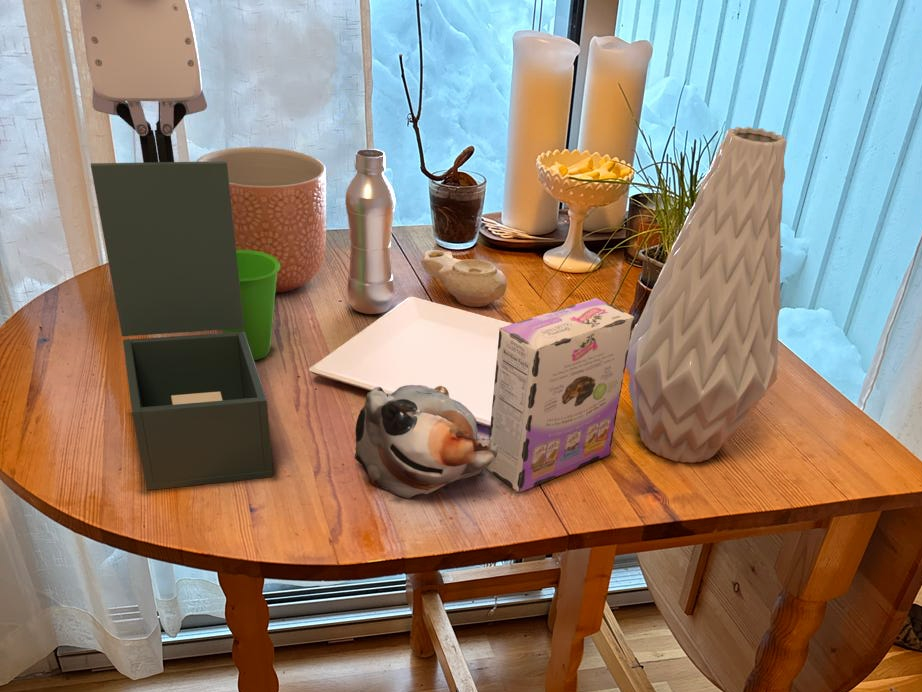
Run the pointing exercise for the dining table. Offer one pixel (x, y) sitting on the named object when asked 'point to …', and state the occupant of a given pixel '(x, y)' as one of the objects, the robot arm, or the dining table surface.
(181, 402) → the block
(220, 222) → the lid
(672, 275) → the vase
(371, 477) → the lucky cat figurine
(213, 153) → the planter
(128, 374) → the chest
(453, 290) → the oil lamp
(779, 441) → the dining table surface
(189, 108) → the robot arm
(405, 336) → the plate
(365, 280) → the silver metal bottle
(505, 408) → the candy box
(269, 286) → the cup
